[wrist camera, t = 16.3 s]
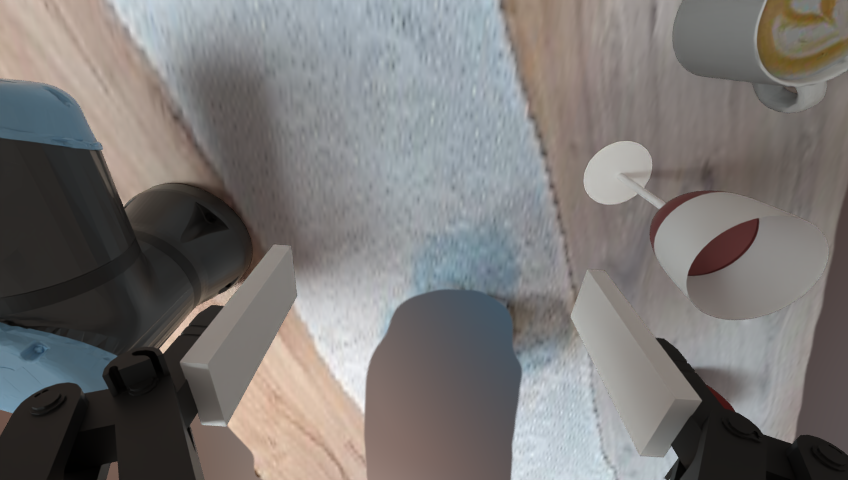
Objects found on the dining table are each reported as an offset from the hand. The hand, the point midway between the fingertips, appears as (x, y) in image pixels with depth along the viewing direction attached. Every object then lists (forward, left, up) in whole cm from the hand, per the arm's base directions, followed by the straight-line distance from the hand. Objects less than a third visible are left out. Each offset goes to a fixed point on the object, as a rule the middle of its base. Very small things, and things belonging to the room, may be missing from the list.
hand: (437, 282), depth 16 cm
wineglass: (+21, -2, -27) cm, 34 cm away
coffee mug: (+27, +12, -27) cm, 40 cm away
